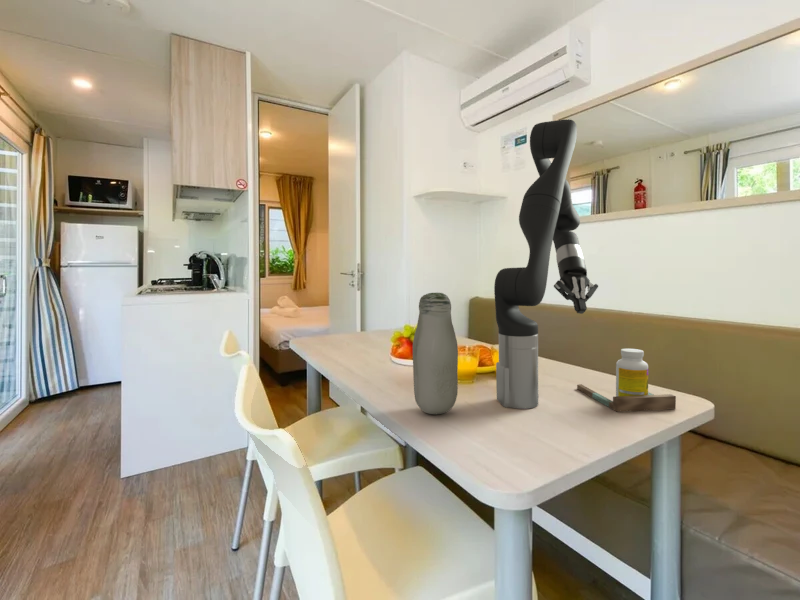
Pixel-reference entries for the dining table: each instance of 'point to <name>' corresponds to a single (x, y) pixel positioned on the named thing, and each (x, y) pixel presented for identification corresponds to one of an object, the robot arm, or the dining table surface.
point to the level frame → (634, 401)
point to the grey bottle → (435, 355)
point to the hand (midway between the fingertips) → (581, 312)
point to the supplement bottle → (631, 373)
